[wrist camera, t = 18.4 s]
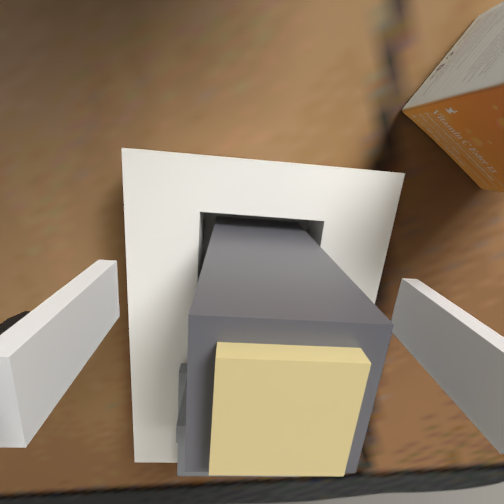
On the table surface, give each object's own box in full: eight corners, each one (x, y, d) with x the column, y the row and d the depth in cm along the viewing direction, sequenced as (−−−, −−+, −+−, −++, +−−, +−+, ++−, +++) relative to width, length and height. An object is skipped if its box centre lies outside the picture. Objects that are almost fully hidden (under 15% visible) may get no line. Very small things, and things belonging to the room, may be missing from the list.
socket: (145, 149, 18) (121, 147, 14) (370, 169, 19) (405, 173, 15) (150, 413, 24) (134, 462, 20) (322, 417, 25) (337, 464, 21)
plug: (213, 290, 20) (180, 494, 8) (216, 216, 18) (184, 329, 6) (287, 294, 20) (363, 494, 8) (297, 222, 19) (407, 338, 7)
